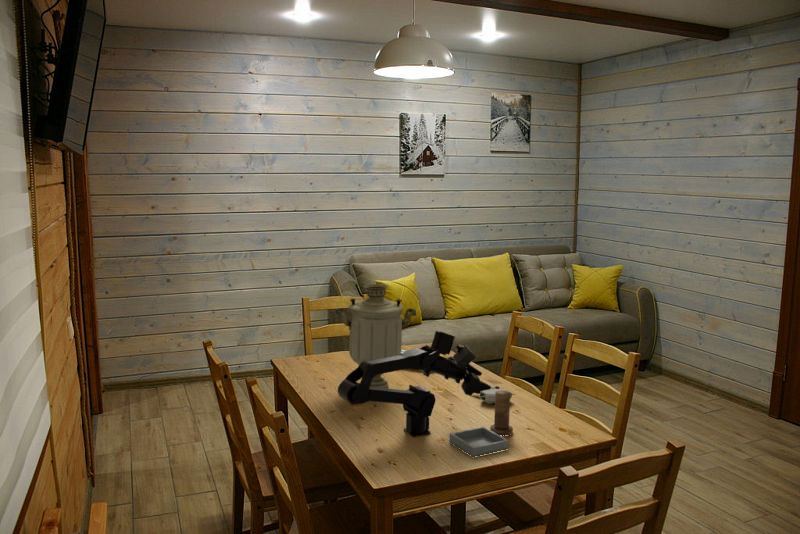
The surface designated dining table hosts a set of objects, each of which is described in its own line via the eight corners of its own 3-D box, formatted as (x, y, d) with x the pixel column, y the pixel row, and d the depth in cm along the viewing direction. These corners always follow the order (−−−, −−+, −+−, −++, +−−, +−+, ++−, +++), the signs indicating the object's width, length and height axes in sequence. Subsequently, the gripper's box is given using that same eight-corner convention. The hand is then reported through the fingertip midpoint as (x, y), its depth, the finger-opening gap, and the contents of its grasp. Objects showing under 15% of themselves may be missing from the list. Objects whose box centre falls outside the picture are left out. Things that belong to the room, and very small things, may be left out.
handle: (499, 438, 207) (500, 397, 205) (485, 430, 213) (487, 391, 211) (517, 434, 210) (518, 394, 209) (503, 426, 216) (504, 388, 215)
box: (473, 458, 192) (473, 448, 192) (449, 442, 203) (449, 433, 203) (508, 450, 198) (508, 440, 197) (483, 435, 209) (483, 426, 208)
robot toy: (468, 396, 248) (484, 407, 234) (468, 384, 248) (484, 394, 234) (499, 394, 252) (516, 404, 237) (499, 382, 251) (516, 392, 237)
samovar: (418, 379, 265) (419, 280, 260) (412, 401, 240) (414, 291, 234) (344, 376, 268) (344, 278, 263) (331, 397, 242) (330, 289, 237)
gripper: (463, 358, 202) (507, 373, 207) (447, 332, 219) (487, 347, 224) (447, 389, 205) (490, 403, 210) (432, 361, 222) (473, 375, 227)
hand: (485, 380), depth 217 cm, fingers open, 9 cm apart
